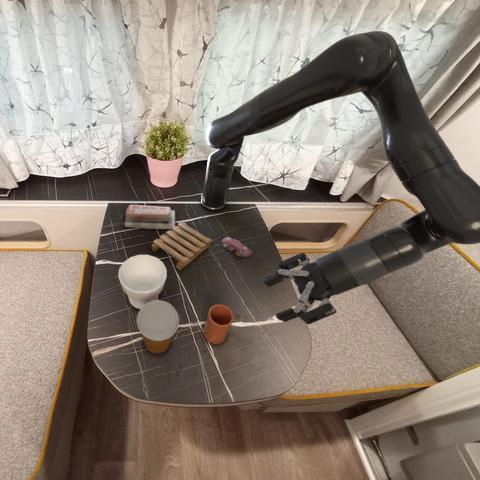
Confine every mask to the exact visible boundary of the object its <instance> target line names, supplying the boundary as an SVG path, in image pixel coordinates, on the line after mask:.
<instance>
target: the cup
mask: <svg viewBox="0 0 480 480" xmlns="http://www.w3.org/2000/svg"><path fill="white" fill-rule="evenodd" d="M167 270H168V269H167V267H166V265H165V264H164V262H163V261H162V260H160V259H159V258H158V257H156V256H153V255H150V254H136V255H134V256H131V257H128V259H126V260H124V261H123V262H122V264H121V265H120V266H119V269H118V274H117V277H118V280H119V282H120V286H121V288H122V289H123V292H124V293H125V294H126V295H127V298H128V301H129V304H130V305H131V306H133V307H134V308H136V309H139V310H140V309H141V308H142V307H143V306H144V305H145V304H147V303H148V302H150V301H154V300H159V294H160V293H162V292H163V291H162V290H163V289H164V286H165V284H166V281H167V276H168V275H167V274H168V273H167Z"/></svg>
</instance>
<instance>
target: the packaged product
mask: <svg viewBox="0 0 480 480" xmlns="http://www.w3.org/2000/svg"><path fill="white" fill-rule="evenodd" d="M174 226H176V210H174V209H173V210H172V208H171V206H160V205H159V206H157V205H141V204H140V205H139V204H129V205H128V206H127V208H126V209H125V220H124V227H125V228H136V229H137V228H138V229H147V230H172V228H173V227H174Z"/></svg>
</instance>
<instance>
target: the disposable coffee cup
mask: <svg viewBox="0 0 480 480" xmlns="http://www.w3.org/2000/svg"><path fill="white" fill-rule="evenodd" d="M136 326H137V329H138V331H139V333H140V334H141V337H142V339H143V342H144V346H145V347H146V348H145V349H147V350H148V351H149V352H151V353H153V354H162V353H165V352H166V351H167V350H168V348H169V347H170V344H171V341H172V339H173V337H174V335H175V334H176V332H177V331H178V329H179V327H180V316H179V313H178V311H177V310H176V309H175V306H173V305H172V304H171V303H169V302H168V301H165V300H160V299H158V300H154V301H150V302H148V303H147V304H145V305H144V306H143V307H142V308H141V309H139V311H138V313H137V315H136Z"/></svg>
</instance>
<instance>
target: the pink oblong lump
mask: <svg viewBox="0 0 480 480" xmlns="http://www.w3.org/2000/svg"><path fill="white" fill-rule="evenodd" d="M221 244H222V246H223V248H226V249H227V250H229V251H230V252H234V251H235V250H236V251H235V252H234V253H235V254H236V256H238V257H243V258H250V257H251V256H252V254H253V250H252V249H250V248H249V247H247V246H246V245H245V244H243V243H242V242H241V241H240V240H238V239H235V238H232V237H230V236H225V237H224V238H223V239H222V240H221Z"/></svg>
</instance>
